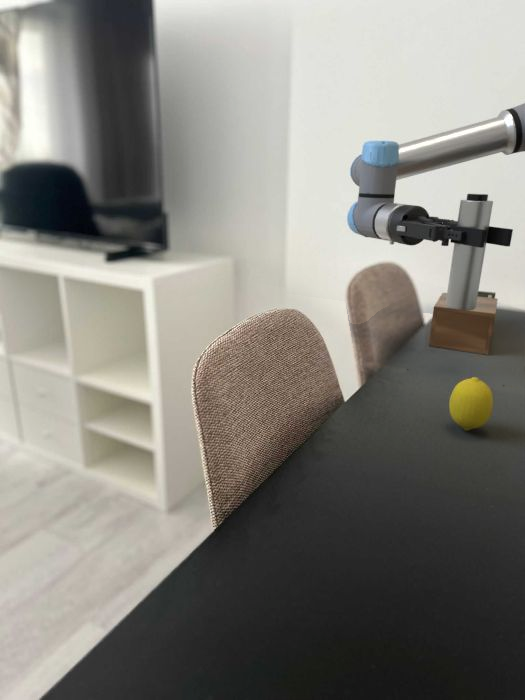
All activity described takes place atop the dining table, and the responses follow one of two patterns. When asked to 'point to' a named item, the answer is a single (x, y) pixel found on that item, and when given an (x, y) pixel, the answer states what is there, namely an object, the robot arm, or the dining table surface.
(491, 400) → the lemon
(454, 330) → the cabinet
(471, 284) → the silver capped cylinder
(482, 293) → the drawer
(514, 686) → the dining table surface
